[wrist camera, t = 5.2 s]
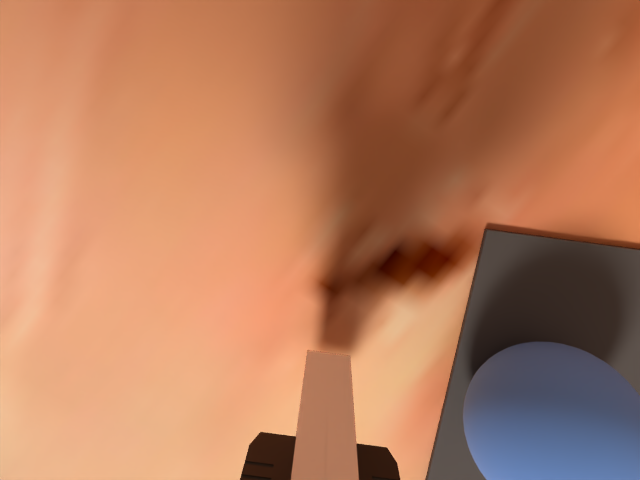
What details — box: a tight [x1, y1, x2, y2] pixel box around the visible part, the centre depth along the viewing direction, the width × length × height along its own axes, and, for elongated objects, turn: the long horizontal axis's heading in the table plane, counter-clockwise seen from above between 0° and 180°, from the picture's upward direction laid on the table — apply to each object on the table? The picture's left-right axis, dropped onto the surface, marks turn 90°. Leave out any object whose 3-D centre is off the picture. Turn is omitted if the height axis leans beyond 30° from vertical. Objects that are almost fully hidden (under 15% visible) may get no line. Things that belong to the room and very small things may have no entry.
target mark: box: [426, 229, 640, 480], centre depth 16 cm, size 12×12×1 cm
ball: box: [463, 341, 640, 480], centre depth 14 cm, size 6×6×6 cm
